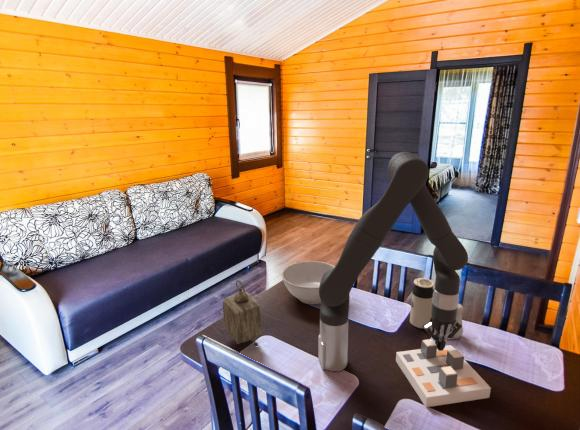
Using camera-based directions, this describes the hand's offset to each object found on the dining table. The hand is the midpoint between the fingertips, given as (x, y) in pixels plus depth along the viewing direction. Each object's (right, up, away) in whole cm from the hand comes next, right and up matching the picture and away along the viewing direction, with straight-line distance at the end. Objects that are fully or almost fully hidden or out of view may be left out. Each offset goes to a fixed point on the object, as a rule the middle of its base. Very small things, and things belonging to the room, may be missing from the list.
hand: (439, 348), depth 119 cm
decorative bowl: (-40, +7, +45) cm, 60 cm away
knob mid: (+2, -3, -6) cm, 7 cm away
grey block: (-3, -5, -13) cm, 14 cm away
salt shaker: (+12, -1, +15) cm, 19 cm away
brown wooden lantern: (-67, -3, +15) cm, 69 cm away
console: (-2, -7, -5) cm, 9 cm away
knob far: (-4, -2, 0) cm, 4 cm away
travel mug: (+2, +1, +24) cm, 24 cm away
